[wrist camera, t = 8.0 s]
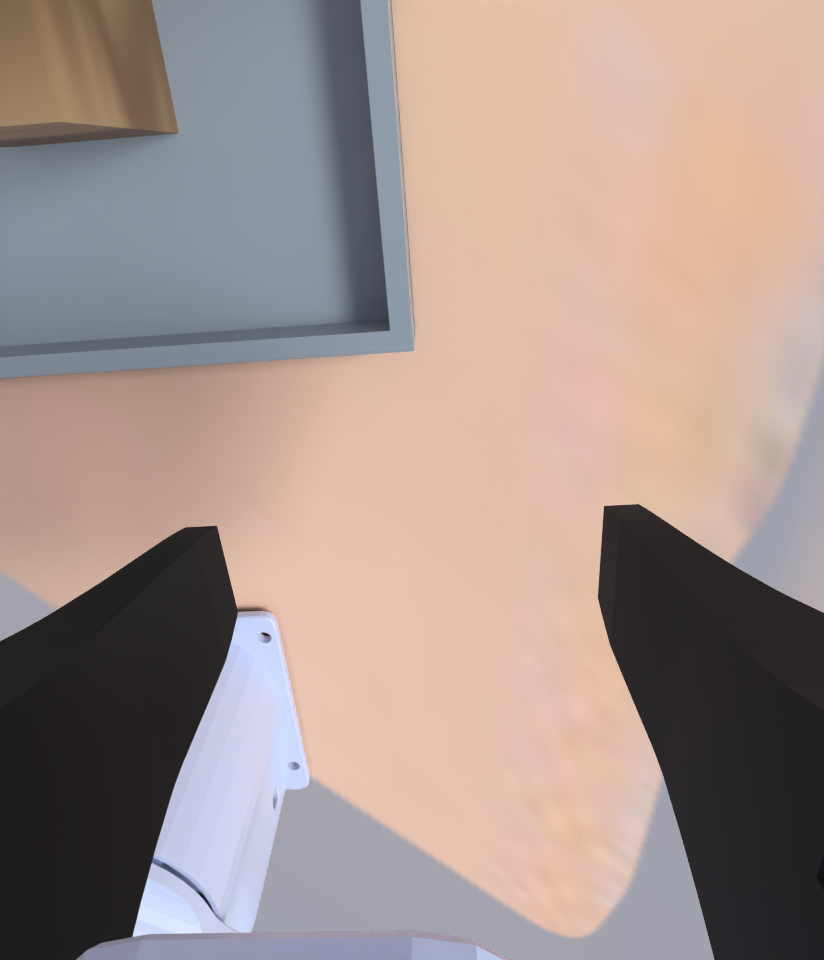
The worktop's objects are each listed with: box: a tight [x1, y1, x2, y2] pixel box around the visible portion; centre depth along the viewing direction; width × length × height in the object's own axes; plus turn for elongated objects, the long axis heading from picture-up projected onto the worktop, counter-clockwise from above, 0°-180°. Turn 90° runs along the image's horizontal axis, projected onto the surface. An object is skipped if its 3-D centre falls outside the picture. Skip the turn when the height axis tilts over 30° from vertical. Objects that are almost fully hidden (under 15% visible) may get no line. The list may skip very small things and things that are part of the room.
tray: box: [0, 0, 415, 378], centre depth 16 cm, size 16×16×2 cm
